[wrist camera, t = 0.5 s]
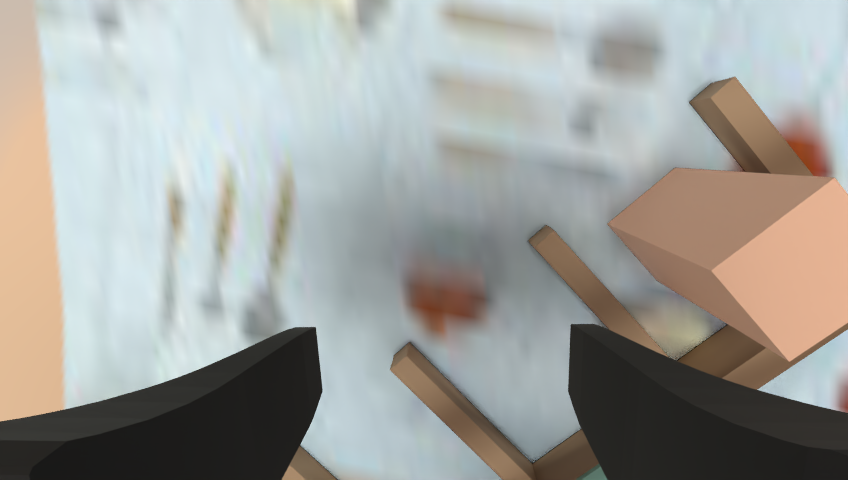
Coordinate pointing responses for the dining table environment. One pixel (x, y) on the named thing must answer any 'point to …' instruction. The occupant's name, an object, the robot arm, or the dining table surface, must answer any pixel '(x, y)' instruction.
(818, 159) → the dining table surface
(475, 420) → the brown open frame
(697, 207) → the terracotta block
